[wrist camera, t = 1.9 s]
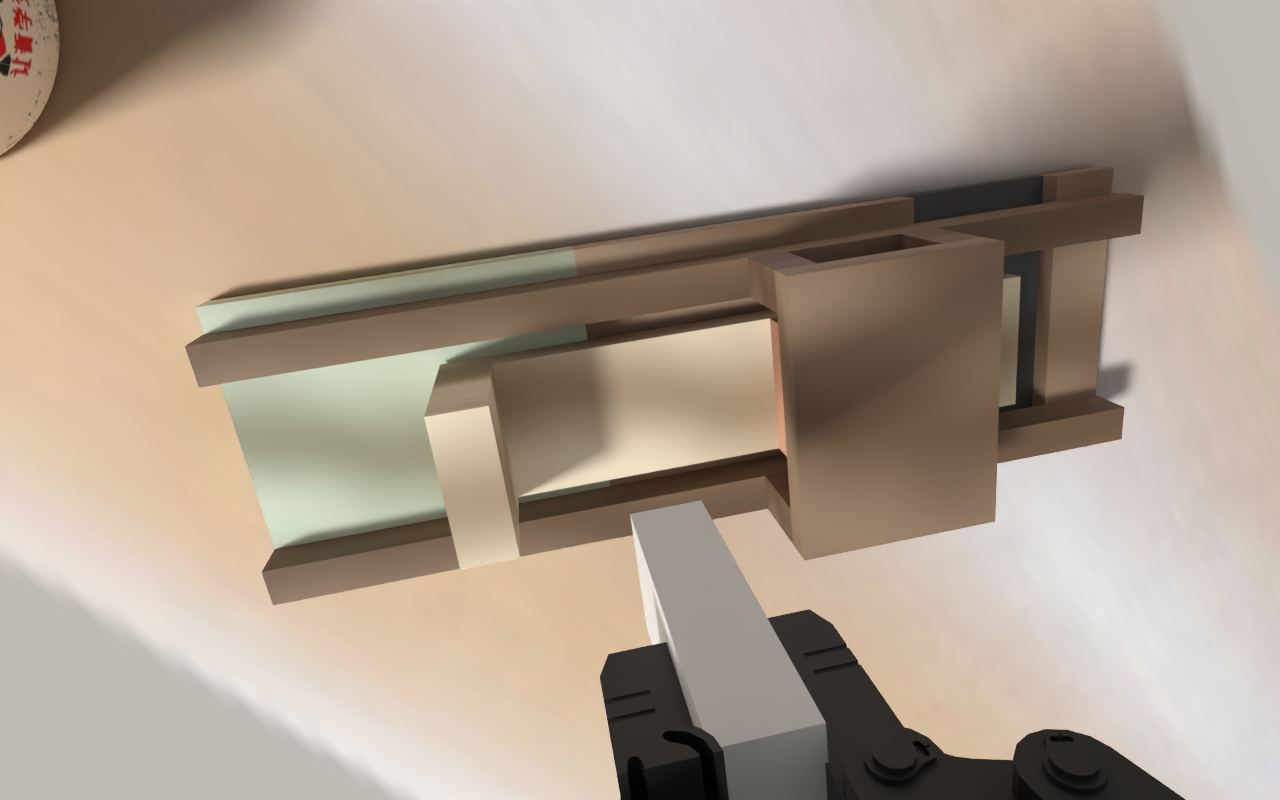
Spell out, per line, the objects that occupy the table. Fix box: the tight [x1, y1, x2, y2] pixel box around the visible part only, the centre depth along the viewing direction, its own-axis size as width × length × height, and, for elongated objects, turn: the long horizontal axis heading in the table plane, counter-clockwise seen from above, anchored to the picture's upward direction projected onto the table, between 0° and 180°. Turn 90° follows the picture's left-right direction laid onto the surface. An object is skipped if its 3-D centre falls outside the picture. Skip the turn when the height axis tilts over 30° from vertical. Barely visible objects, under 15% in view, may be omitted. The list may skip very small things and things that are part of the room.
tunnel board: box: [185, 167, 1144, 605], centre depth 23 cm, size 10×29×6 cm, turn 97°
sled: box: [424, 272, 1021, 570], centre depth 23 cm, size 4×19×5 cm, turn 97°
